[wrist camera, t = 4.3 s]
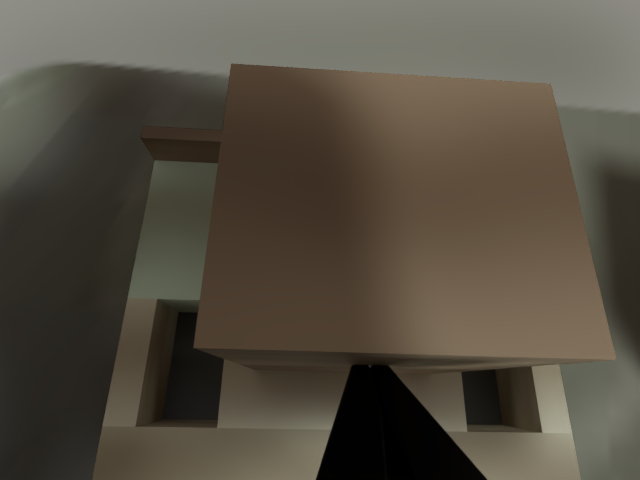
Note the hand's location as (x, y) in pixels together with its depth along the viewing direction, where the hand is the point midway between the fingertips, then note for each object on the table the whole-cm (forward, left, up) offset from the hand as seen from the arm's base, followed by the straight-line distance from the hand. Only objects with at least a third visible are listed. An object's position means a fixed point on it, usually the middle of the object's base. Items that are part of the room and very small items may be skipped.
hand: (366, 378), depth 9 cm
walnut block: (+2, -2, -4) cm, 5 cm away
